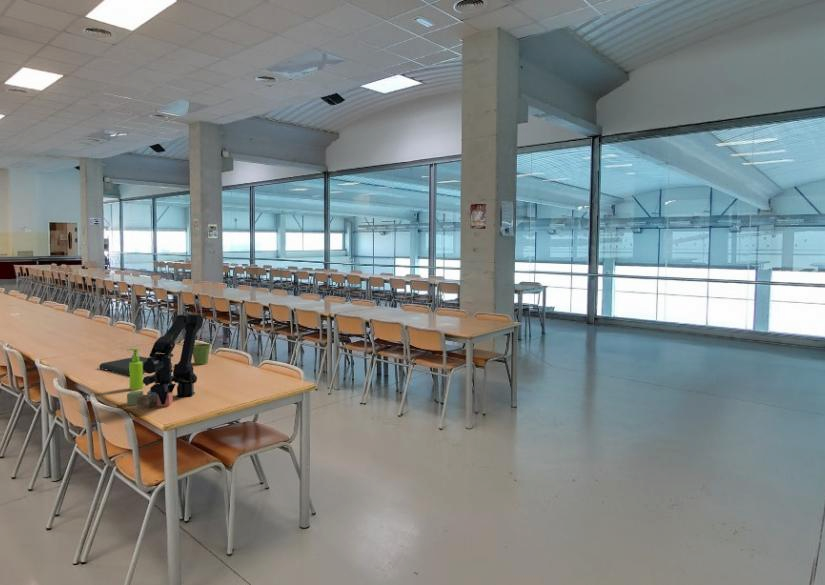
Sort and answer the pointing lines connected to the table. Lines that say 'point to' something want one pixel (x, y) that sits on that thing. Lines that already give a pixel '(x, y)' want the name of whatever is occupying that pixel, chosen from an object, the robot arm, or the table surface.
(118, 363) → the closed laptop
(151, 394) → the slate cube
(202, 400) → the table surface
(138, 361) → the soap dispenser
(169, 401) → the red cube
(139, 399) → the walnut cube
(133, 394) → the olive cube
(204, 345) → the plant pot
